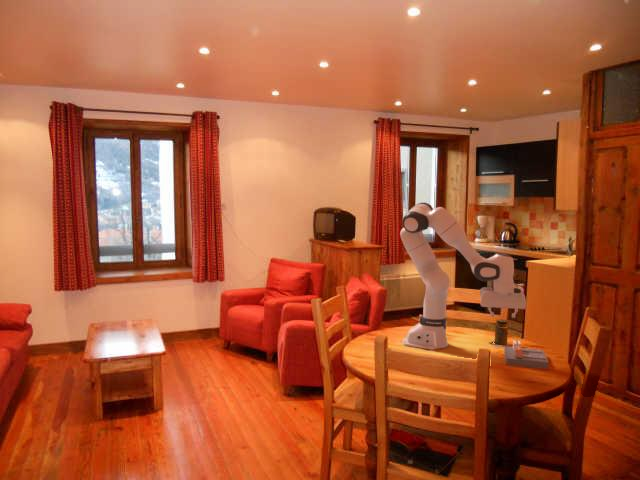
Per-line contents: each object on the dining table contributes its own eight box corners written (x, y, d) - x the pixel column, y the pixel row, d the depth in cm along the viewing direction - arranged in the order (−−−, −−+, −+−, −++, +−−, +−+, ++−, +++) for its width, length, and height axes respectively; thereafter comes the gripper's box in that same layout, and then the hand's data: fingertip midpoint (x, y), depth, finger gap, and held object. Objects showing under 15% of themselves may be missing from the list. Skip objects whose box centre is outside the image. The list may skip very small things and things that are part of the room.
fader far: (513, 350, 228) (513, 343, 228) (512, 347, 233) (513, 340, 233) (520, 351, 227) (520, 343, 227) (519, 348, 232) (519, 340, 232)
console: (506, 364, 220) (507, 358, 219) (504, 352, 237) (504, 346, 236) (548, 369, 215) (548, 362, 214) (542, 356, 232) (543, 349, 231)
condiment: (510, 344, 250) (511, 321, 249) (500, 347, 245) (501, 323, 244) (498, 340, 256) (499, 318, 255) (488, 343, 251) (489, 320, 250)
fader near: (515, 356, 220) (515, 349, 219) (514, 353, 224) (514, 345, 224) (522, 357, 219) (522, 349, 218) (521, 354, 224) (521, 346, 223)
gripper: (479, 288, 230) (479, 317, 231) (527, 290, 223) (526, 320, 225) (480, 285, 236) (479, 314, 237) (526, 287, 229) (525, 316, 231)
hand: (502, 317), depth 231 cm, fingers open, 8 cm apart
